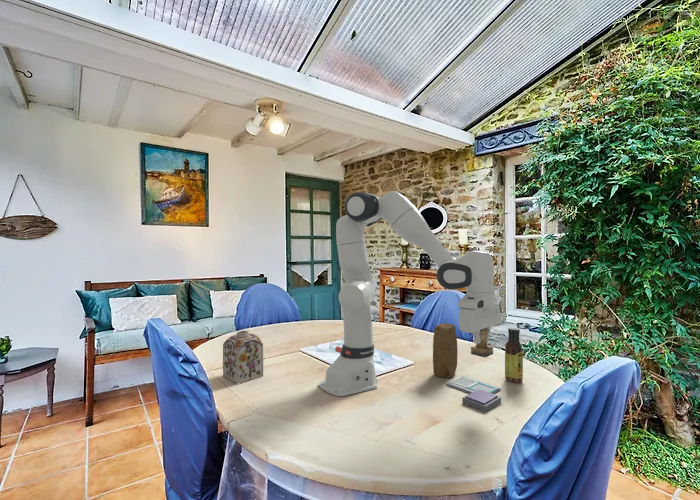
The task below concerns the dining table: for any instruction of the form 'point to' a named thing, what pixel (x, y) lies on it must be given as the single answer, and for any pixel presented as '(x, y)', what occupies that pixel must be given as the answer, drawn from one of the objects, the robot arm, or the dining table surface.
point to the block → (444, 350)
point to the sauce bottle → (513, 357)
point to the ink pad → (481, 400)
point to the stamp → (482, 346)
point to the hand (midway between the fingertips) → (481, 341)
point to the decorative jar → (242, 357)
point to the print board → (472, 385)
